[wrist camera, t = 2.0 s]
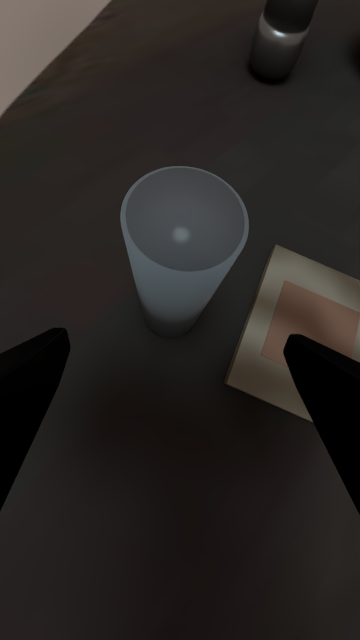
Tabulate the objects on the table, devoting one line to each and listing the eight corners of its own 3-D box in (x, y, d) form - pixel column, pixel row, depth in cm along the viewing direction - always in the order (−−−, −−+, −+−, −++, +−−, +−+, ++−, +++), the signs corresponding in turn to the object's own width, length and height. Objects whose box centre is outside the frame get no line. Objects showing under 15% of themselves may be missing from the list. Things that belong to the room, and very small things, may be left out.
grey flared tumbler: (206, 316, 21) (275, 228, 9) (166, 349, 20) (177, 302, 8) (173, 278, 22) (193, 145, 9) (132, 308, 21) (92, 202, 8)
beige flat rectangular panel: (347, 438, 20) (358, 442, 19) (223, 383, 20) (226, 383, 19) (375, 294, 24) (385, 290, 23) (271, 249, 24) (276, 243, 23)
